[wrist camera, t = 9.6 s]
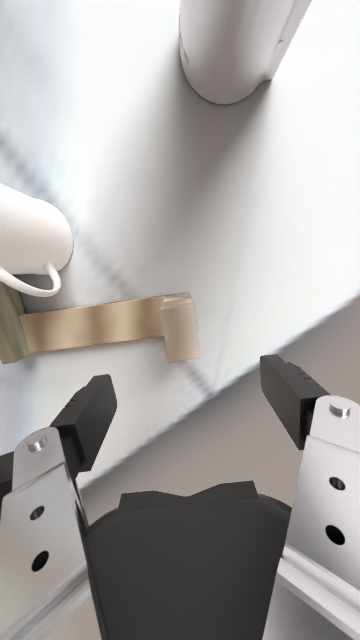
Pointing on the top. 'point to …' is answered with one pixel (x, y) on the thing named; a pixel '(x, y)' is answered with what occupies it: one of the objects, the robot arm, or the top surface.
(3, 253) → the mug
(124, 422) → the top surface
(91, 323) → the bracket
